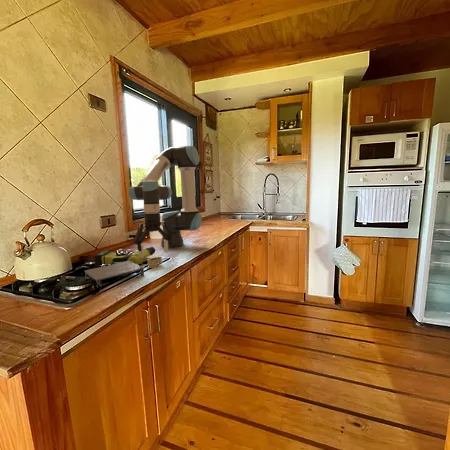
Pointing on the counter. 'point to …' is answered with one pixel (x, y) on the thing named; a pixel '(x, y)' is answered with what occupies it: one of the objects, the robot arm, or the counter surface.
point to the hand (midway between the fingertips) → (154, 254)
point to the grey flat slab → (113, 271)
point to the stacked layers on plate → (154, 260)
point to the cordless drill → (123, 257)
